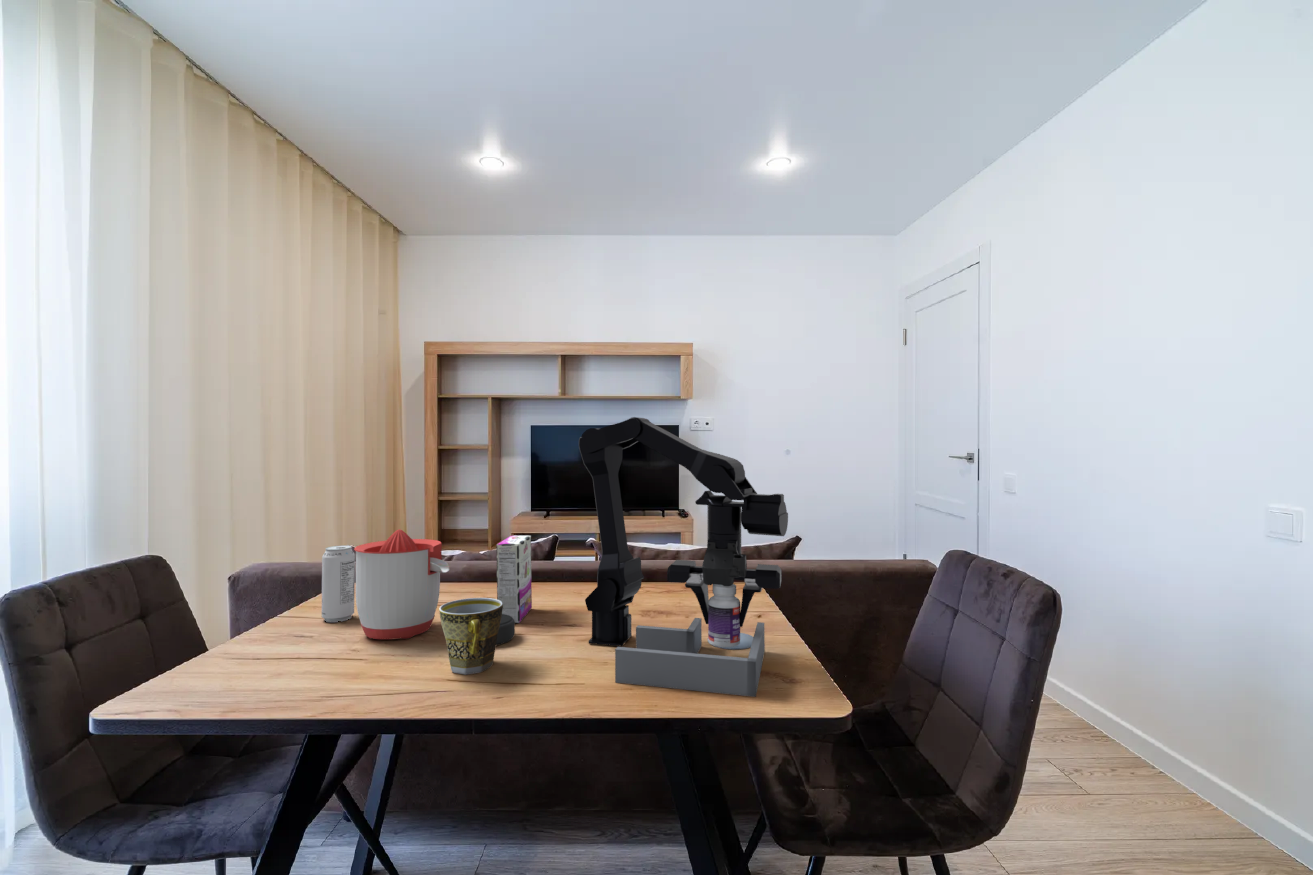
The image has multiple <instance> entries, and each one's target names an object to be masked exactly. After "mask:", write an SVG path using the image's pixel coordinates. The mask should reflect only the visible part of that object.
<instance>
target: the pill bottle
mask: <svg viewBox="0 0 1313 875" xmlns="http://www.w3.org/2000/svg"><path fill="white" fill-rule="evenodd" d="M711 590H712V594H713V595H712V596H711V597H709V602H708V624H707V628H708V629H707V630H708V632H707V633H708V634H707V635H708V636H707V642H708V641H709V643H710V644H709V643H708V644H709V645H711V644H712V645H711V646H713V645H714V646H713V647H715V646H717V647H716V648H718V647H734V646H737V645H739V643H740V633H741V627H740V612H741V601H740V599H739V598H738V597H737V596H736V594H737V585H736V584H734V583H733V585H731V586H723V585H716V584H712V589H711Z"/></svg>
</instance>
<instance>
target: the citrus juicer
mask: <svg viewBox="0 0 1313 875" xmlns="http://www.w3.org/2000/svg"><path fill="white" fill-rule="evenodd" d="M442 546H443V544H442V542H441V541H439V540H436V539H430V538H429V539H428V538H427V539H426V538H411V536H410V535H409V534H407V533H406V532H405V531H404V530H402V529H401V528H399V529H397V530H395V531H394V532H393V533H392V534H390V536H388V538H387V539H386V540H380V541H379V540H378V541H372V542H368V543H363V544H359V545H357V546H355V547H354V548H353V549H354V551H355V604H356V611H357V614H358V619H359V622H360V626H361V628H362V630H363V633H364V635H365V636H366V637H367V638H368V639H371V638H373V639H372V640H374V639H375V640H396V639H397V640H398V639H404V640H406V639H407V640H409V639H411V638H413V637H414V636H417V635H420V634H423V633H425V632H427V631H428V630H429V629H430V628H431V626H432V624H433V622H434V619H435V617H436V616H435V614H436V610H437V607H438V605H439V604H438V603H439V598H440V591H441V590H440V588H441V587H440V586H441V574H446V573H448V572H449V571H450V566H449V563H448V562H447V561H445V560H442V559H443V558H442V555H443V554H442V552H443V550H442V549H443V548H442Z"/></svg>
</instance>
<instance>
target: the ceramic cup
mask: <svg viewBox="0 0 1313 875" xmlns="http://www.w3.org/2000/svg"><path fill="white" fill-rule="evenodd" d="M438 610H439V612H438V613H439V618H440V623H441V627H442V631H443V635H444V639H445V642H446V647H447V655H448V659H449V665H450V670H451V672H452V673H454V674H459V675H464V676H465V675H473V674H479V673H482V672H484V671H487V670H488V669H490V668H491V667H492V666H493V664H494V658H495V652H496V647H497V645H496V642H497V636H498V631H499V627H500V622H501V617H502V610H503V602H502V601H500V600H497V598H489V597H472V598H471V597H470V598H462V599H457V600H456V599H455V600H451V601H449V602H446V603H444V604H442V605H440V606H439V608H438Z"/></svg>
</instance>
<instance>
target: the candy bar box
mask: <svg viewBox="0 0 1313 875" xmlns="http://www.w3.org/2000/svg"><path fill="white" fill-rule="evenodd" d="M496 593H497V594H496V599H497V600H500V601H502V602H503V610H502V614H506V615H509V616H511V617H512V618H513V619H514V621H515V624H520V623H521V622H522V621H523V619H524V618H525V617H526V616H527V615H528V613H529V612H530V611H531V609H532V608H533V604H532V603H533V602H532V598H533V597H532V593H533V592H532V535H526V534H525V535H523V534H521V535H519V534H518V535H516V534H515V535H510V536H508V537H506V538H505V539H503V540H501V541H500V542H498V543H497V544H496Z"/></svg>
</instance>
